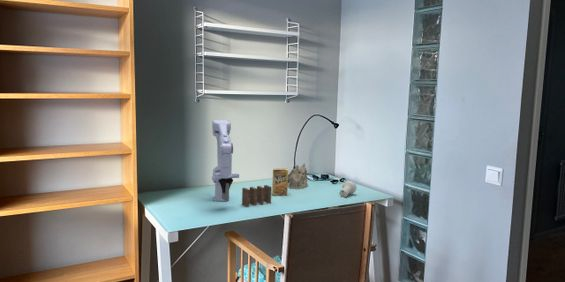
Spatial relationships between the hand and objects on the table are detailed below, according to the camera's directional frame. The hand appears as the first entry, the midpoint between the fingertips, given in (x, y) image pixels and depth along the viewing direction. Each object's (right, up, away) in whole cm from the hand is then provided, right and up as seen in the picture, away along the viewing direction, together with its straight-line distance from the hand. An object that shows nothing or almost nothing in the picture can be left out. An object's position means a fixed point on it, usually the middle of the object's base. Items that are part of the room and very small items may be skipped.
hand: (225, 192), depth 216 cm
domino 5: (+21, -7, +15) cm, 27 cm away
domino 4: (+17, -7, +13) cm, 23 cm away
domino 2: (+10, -8, +8) cm, 15 cm away
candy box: (+27, -5, +32) cm, 42 cm away
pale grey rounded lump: (+68, -6, +36) cm, 77 cm away
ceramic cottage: (+37, -2, +55) cm, 66 cm away
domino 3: (+13, -7, +10) cm, 18 cm away
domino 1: (0, -4, +1) cm, 3 cm away
